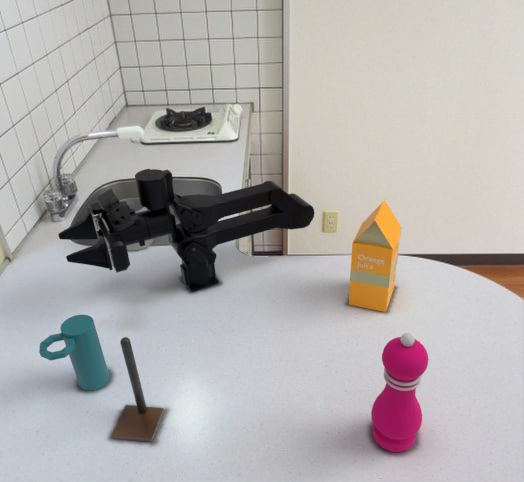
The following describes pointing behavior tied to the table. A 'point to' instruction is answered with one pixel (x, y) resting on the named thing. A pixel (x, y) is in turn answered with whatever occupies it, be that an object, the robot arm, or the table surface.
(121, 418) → the peg stand
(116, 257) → the robot arm
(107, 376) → the jug
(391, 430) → the pepper mill
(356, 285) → the orange juice
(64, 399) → the table surface
